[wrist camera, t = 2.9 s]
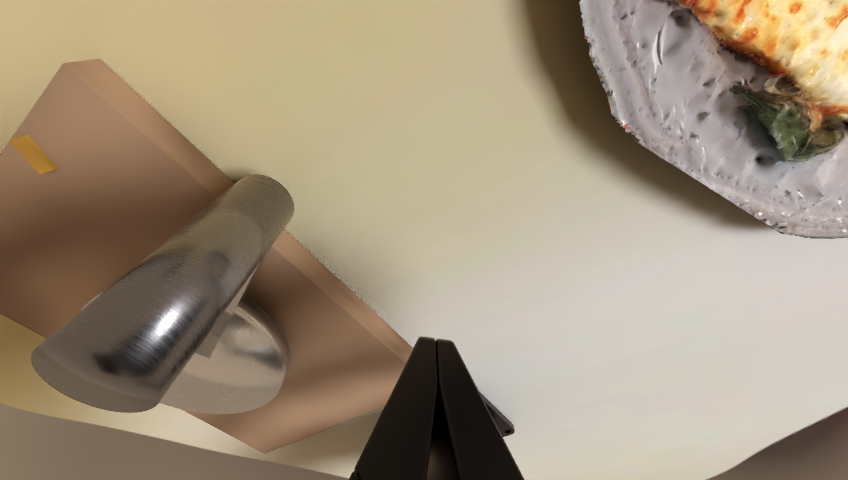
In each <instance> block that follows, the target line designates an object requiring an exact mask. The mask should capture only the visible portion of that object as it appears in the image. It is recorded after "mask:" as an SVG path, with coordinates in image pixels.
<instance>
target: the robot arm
mask: <svg viewBox="0 0 848 480" xmlns="http://www.w3.org/2000/svg"><path fill="white" fill-rule="evenodd" d="M514 431H515V430H514V425H513V424H512V423H511V422H510V421H509V420H508V419H507V418H506V417H505V416H504V415H503V414H502V413H501V412H500V411H499V410H498V409H497V408H496V407H495V406H494V405H492V404H491V403H490V402H489V401H488V400H487V399H486V398H485V397H484V396H483V395H482V394H481V393H480V392H479V391H478V389H477V387H476V385H475V383H474V381H473V379H472V377H471V375H470V373H469V371H468V370H467V368H466V366H465V364H464V362H463V360H462V358H461V356H460V354H459V352H458V350H457V348H456V346H455V344H454V343H453V342H452V341H450V340H444V339H437V340H436V341H435V339H434V338H429V337H419V338H418V340H417V342H416V344H415V346H414V348H413V350H412V352H411V354H410V356H409V358H408V360H407V362H406V365H405V367H404V369H403V371H402V373H401V375H400V377H399V379H398V381H397V383H396V385H395V387H394V389H393V391H392V393H391V395H390V397H389V399H388V401H387V403H386V405H385V407H384V409H383V411H382V414H381V416H380V418H379V420H378V422H377V424H376V426H375V428H374V430H373V432H372V434H371V436H370V438H369V440H368V442H367V444H366V446H365V448H364V450H363V452H362V454H361V456H360V458H359V460H358V462H357V465H356V467H355V471H354V472H353V473H352V474H351V476H350V478H349V480H524V478H523V476H522V474H521V472H520V470H519V468H518V466H517V464H516V462H515V460H514V459H513V457H512V455H511V453H510V451H509V449H508V447H507V445H506V443H505V441H504V439H503V437H504V436H508V435H511V434H513V433H514Z"/></svg>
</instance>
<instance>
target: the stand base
mask: <svg viewBox="0 0 848 480" xmlns="http://www.w3.org/2000/svg"><path fill="white" fill-rule="evenodd" d="M234 184H235V183H234V182H233V181H232V180H230V179H229V178H228V177H227V176H226V175H225V174H224V173H223V172H222V171H221V170H220V169H219V168H217V167H216V166H215V165H214V164H213V163H212V162H211V161H210V160H209V159H208V158H207V157H206V156H204V155H203V154H202V153H201V152H200V151H199V150H198V149H197V148H196V147H195V146H194V145H193V144H191V143H190V142H189V141H188V140H187V139H186V138H185V137H184V136H183V135H182V134H181V133H180V132H178V131H177V130H176V129H175V128H174V127H173V126H172V125H171V124H170V123H169V122H168V121H167V120H165V119H164V118H163V117H162V116H161V115H160V114H159V113H158V112H157V111H156V110H155V109H154V108H152V107H151V106H150V105H149V104H148V103H147V102H146V101H145V100H144V99H143V98H142V97H141V96H139V95H138V94H137V93H136V92H135V91H134V90H133V89H132V88H131V87H130V86H129V85H128V84H126V83H125V82H124V81H123V80H122V79H121V78H120V77H119V76H118V75H117V74H116V73H115V72H113V71H112V70H111V69H110V68H109V67H108V66H107V65H106V64H105V63H104V62H103V61H102V60H100V59H96V60H87V61H79V62H71V63H63V65H62V66H61V67H60V69H59V70H58V72H57V73H56V75H55V76H54V78H53V79H52V80H51V82H50V83H49V85H48V86H47V88H46V89H45V91H44V92H43V94H42V95H41V96H40V98H39V99H38V101H37V102H36V104H35V105H34V107H33V108H32V110H31V111H30V112H29V114H28V115H27V117H26V118H25V120H24V121H23V123H22V124H21V125H20V127H19V128H18V130H17V131H16V133H15V134H14V136H13V137H12V139H11V140H10V141H9V143H8V144H7V146H6V147H5V149H4V150H3V152H2V153H1V155H0V314H2V315H4V316H6V317H8V318H10V319H11V320H13V321H15V322H17V323H19V324H21V325H23V326H25V327H27V328H29V329H30V330H32V331H34V332H36V333H38V334H40V335H42V336H44V337H46V338H47V339H48V338H49V337H50V336H51V335H53V334H54V333H55V332H56V331H57V330H59V329H60V328H61V327H62V326H63V325H65V324H66V323H67V322H68V321H70V320H71V319H72V318H73V317H74V316H76V315H77V314H78V313H79V312H80V311H81V310H82V308H83V307H84V306H85V305H86V304H87V303H88V302H89V301H90V300H91V299H92V298H94V297H95V296H96V295H97V294H99V293H100V292H101V291H102V290H103V289H105V288H106V287H107V286H108V285H110V284H111V283H112V282H114V281H116V280H117V279H119V278H122V277H123V276H124V275H125V274H126V273H128V272H129V271H130V270H131V269H132V268H134V267H135V266H136V265H137V264H139V263H140V262H141V261H142V260H143V259H145V258H146V257H147V256H148V255H149V254H151V253H152V252H153V251H154V250H155V249H157V248H158V247H159V246H160V245H162V244H163V243H164V242H165V241H166V240H168V239H169V238H170V237H171V236H172V235H174V234H175V233H176V232H177V231H178V230H180V229H181V228H182V227H183V226H185V225H186V224H187V223H188V222H189V221H191V220H192V219H193V218H194V217H195V216H197V215H198V214H199V213H200V212H202V211H203V210H204V209H205V208H206V207H208V206H209V205H210V204H211V203H212V202H214V201H215V200H216V199H217V198H218V197H220V196H221V195H222V194H223V193H225V192H226V191H227V190H228V189H229V188H231V187H232V186H233V185H234ZM245 298H247V299H249V300H250V301H252V302H253V303H254V304H256V305H257V306H258V307H260V308H261V309H262V310H263V311H264V312H265V313H267V314H268V315H269V316H270V317H271V318H272V319H273V321H274V322H275V323H276V324H277V325H278V326H279V328H280V329H281V331H282V332H283V334H284V336H285V338H286V340H287V342H288V345H289V348H290V354H291V360H290V366H289V369H288V372H287V374H286V376H285V379H284V381H283V383H282V386H281V388H280V390H279V392H278V393H277V395H276V396H275V397H274V398H273V399H272V400H271V401H270V402H268V403H267V404H265V405H263V406H261V407H259V408H257V409H254V410H251V411H247V412H242V413H235V414H207V413H199V412H193V411H187V410H184V411H185V412H187V413H189V414H191V415H193V416H195V417H197V418H199V419H201V420H202V421H204V422H206V423H208V424H210V425H212V426H214V427H216V428H218V429H219V430H221V431H223V432H225V433H227V434H229V435H231V436H233V437H235V438H236V439H238V440H240V441H242V442H244V443H246V444H248V445H250V446H252V447H253V448H255V449H257V450H259V451H261V452H263V453H267V452H270V451H272V450H275V449H278V448H280V447H283V446H285V445H288V444H290V443H293V442H295V441H298V440H300V439H303V438H305V437H308V436H310V435H313V434H316V433H318V432H321V431H323V430H326V429H328V428H331V427H333V426H336V425H338V424H341V423H343V422H346V421H348V420H351V419H353V418H356V417H359V416H361V415H364V414H366V413H369V412H371V411H374V410H376V409H379V408H381V407H384V406H385V405H386V403H387V401H388V399H389V397H390V395H391V393H392V391H393V389H394V387H395V385H396V383H397V381H398V379H399V377H400V375H401V373H402V371H403V369H404V367H405V365H406V362H407V360H408V358H409V356H410V354H411V352H412V350H413V348H412V347H411V346H410V345H409V344H408V343H407V342H406V341H405V340H404V339H403V338H402V337H400V336H399V335H398V334H397V333H396V332H395V331H394V330H393V329H392V328H391V327H390V326H389V325H387V324H386V323H385V322H384V321H383V320H382V319H381V318H380V317H379V316H378V315H377V314H376V313H374V312H373V311H372V310H371V309H370V308H369V307H368V306H367V305H366V304H365V303H364V302H363V301H361V300H360V299H359V298H358V297H357V296H356V295H355V294H354V293H353V292H352V291H351V290H350V289H348V288H347V287H346V286H345V285H344V284H343V283H342V282H341V281H340V280H339V279H338V278H337V277H335V276H334V275H333V274H332V273H331V272H330V271H329V270H328V269H327V268H326V267H325V266H324V265H323V264H321V263H320V262H319V261H318V260H317V259H316V258H315V257H314V256H313V255H312V254H311V253H310V252H308V251H307V250H306V249H305V248H304V247H303V246H302V245H301V244H300V243H299V242H298V241H297V240H295V239H294V238H293V237H292V236H291V235H290V234H289V233H288V232H287V231H286V230H285V229H284V230H283V231H282V232H281V234H280V235H279V237H278V238H277V239H276V241H275V242H274V244H273V245H272V246H271V248H270V249H269V251H268V253H267V255H266V257H265V259H264V261H263V263H262V265H261V266H260V268H259V270H258V272H257V274H256V276H255V278H254V280H253V282H252V284H251V286H250V287H249V289H248V291H247V293H246V295H245ZM182 410H183V409H182Z"/></svg>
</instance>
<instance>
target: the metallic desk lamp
mask: <svg viewBox="0 0 848 480" xmlns="http://www.w3.org/2000/svg"><path fill="white" fill-rule="evenodd" d="M293 214H294V203H293V200H292V197H291V196H290V194H289V192H288V191H287V190H286V189H285V187H283V186H282V185H281V184H280V183H279V182H277V181H276V180H274V179H272V178H270V177H267V176H263V175H249V176H246V177H243V178H242V179H240V180H239V181H238V182H237V183H235V184H234V185H233V186H232V187H231V188H229V189H228V190H227V191H226V192H225V193H223V194H222V195H221V196H220V197H218V198H217V199H216V200H215V201H214V202H212V203H211V204H210V205H209V206H208V207H206V208H205V209H204V210H203V211H202V212H200V213H199V214H198V215H197V216H195V217H194V218H193V219H192V220H191V221H189V222H188V223H187V224H186V225H185V226H183V227H182V228H181V229H180V230H178V231H177V232H176V233H175V234H174V235H172V236H171V237H170V238H169V239H168V240H166V241H165V242H164V243H163V244H162V245H160V246H159V247H158V248H157V249H155V250H154V251H153V252H152V253H151V254H149V255H148V256H147V257H146V258H145V259H143V260H142V261H141V262H140V263H139V264H137V265H136V266H135V267H134V268H132V269H131V270H130V271H129V272H128V273H126V274H125V275H124V276H123V277H122V278H119V279H117V280H116V281H114V282H112V283H111V284H110V285H108V286H107V287H106V288H105V289H103V290H102V291H101V292H100V293H99V294H97V295H96V296H95V297H94V298H92V299H91V300H90V301H89V302H88V303H87V304H86V305H85V306H84V307H83V308H82V310H81V311H80V312H79V313H78V314H77V315H76V316H74V317H73V318H72V319H71V320H70V321H68V322H67V323H66V324H65V325H63V326H62V327H61V328H60V329H59V330H57V331H56V332H55V333H54V334H53V335H51V336H50V337H49V338H48V339H47V340H45V341H44V342H43V343H42V344H40V345H39V346H38V347H37V348H36V349H35V350H34V351H33V353H32V356H31V361H32V365H33V367H34V369H35V371H36V372H37V373H38V374H39V376H40V377H41V378H42V379H43V380H44V381H45V382H47V383H48V384H49V385H50V386H52V387H53V388H55V389H56V390H58V391H59V392H61V393H63V394H64V395H66V396H68V397H70V398H72V399H75V400H77V401H79V402H82V403H84V404H87V405H90V406H93V407H97V408H100V409H104V410H109V411H115V412H127V413H132V412H142V411H146V410H149V409H152V408H153V407H155V406H156V405H157V404H158V403H162V404H165V405H168V406H172V407H175V408H179V409H183V410H187V411H193V412H199V413H207V414H235V413H242V412H247V411H251V410H254V409H257V408H259V407H261V406H263V405H265V404H267V403H268V402H270V401H271V400H272V399H273V398H274V397H275V396H276V395H277V393H278V392H279V390H280V388H281V386H282V383H283V381H284V379H285V376H286V374H287V372H288V369H289V366H290V360H291V354H290V348H289V345H288V342H287V340H286V338H285V336H284V334H283V332H282V331H281V329H280V328H279V326H278V325H277V324H276V323H275V322H274V321H273V319H272V318H271V317H270V316H269V315H268V314H267V313H265V312H264V311H263V310H262V309H261V308H260V307H258V306H257V305H256V304H254V303H253V302H252V301H250V300H249V299H247V298H245V295H246V293H247V291H248V289H249V287H250V286H251V284H252V282H253V280H254V278H255V276H256V274H257V272H258V270H259V268H260V266H261V265H262V263H263V261H264V259H265V257H266V255H267V253H268V251H269V249H270V248H271V246H272V245H273V244H274V242H275V241H276V239H277V238H278V237H279V235H280V234H281V232H282V231H283V230H284V228H285V227H286V225H287V224H288V223H289V221H290V220H291V218H292V216H293Z"/></svg>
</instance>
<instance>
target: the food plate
mask: <svg viewBox="0 0 848 480" xmlns="http://www.w3.org/2000/svg"><path fill="white" fill-rule="evenodd" d="M579 4H580V9H581V11H580V12H583V13H582V15H581V17H582V18H583V23H582V26H583V27H584V31H585V35H584V38H585V39H587V40H588V41H587V42H588V43H590V44H589V45H588V46H589V48H590V51H589V56H590V57H591V58H592V60H591V61H594V60H595V63H594V62H593V66H594V67H595V68H596V69H595V70H597V73H598V75H599V78H600V81H601V84H602V85H603V88H604V89H605V92H606V95H607V97H608V101H609V104H610V109H611V114H612V116H613V119H615V120H618V121H617V122H616V123H618V125H619V126H621V127H623V128H625V131H626V132H629V133H631V132H633V133H631V134H633V135H635V137H636V138H637V139H640V142H639V141H636V140H635V139H634V140H635V141H636V142H637V143H638V144H640V145H641V146H643V147H644V148H646V149H648V150H649V151H651V152H652V153H653V154H655V155H657V156H658V157H660V158H662V159H664V158H665V159H664V160H665V161H667V160H668V161H667V162H668V163H670V164H671V165H673V164H674V165H673V166H674V167H676V166H677V167H676V168H678V169H680V170H681V171H683V172H685V173H686V174H688V175H689V176H690V177H691V178H693V179H695V180H696V181H698V182H700V183H702V184H703V185H705V186H706V187H707V188H709V189H710V190H712V191H713V192H715V193H718V194H720V195H721V196H722V197H724V198H726V199H727V200H729V201H730V202H732V203H734V204H735V205H736V206H738V207H740V208H741V209H743V210H744V209H745V210H744V211H746V212H747V211H748V212H747V213H749V214H751V215H752V216H754V217H755V218H757V219H758V220H760V219H761V220H762V219H764V220H765V222H763V221H762V222H763V223H765V224H766V225H768V226H770V227H771V225H772V226H774V227H780V226H781V228H778V229H779V230H776V231H778V232H779V233H781V234H784V233H785V234H790V235H795V236H797V235H799V236H801V237H805V238H808V237H810V238H827V239H834V238H847V237H848V0H580V2H579ZM615 126H616V125H615ZM616 128H617V126H616ZM618 129H619V128H618ZM619 130H621V129H619ZM621 131H622V130H621ZM624 133H625V132H624ZM627 135H628V134H627ZM628 136H629V135H628ZM631 138H632V137H631ZM632 139H633V138H632ZM643 141H644V142H643ZM642 142H643V143H642ZM641 143H642V144H643V145H642V144H641ZM644 145H645V146H644ZM646 146H647V147H648V148H647V147H646ZM650 149H651V150H650ZM653 151H654V152H653ZM658 154H659V155H660V156H659V155H658ZM759 217H760V219H759ZM761 220H760V221H761ZM773 224H774V225H773ZM771 228H773V227H771ZM773 229H774V228H773Z"/></svg>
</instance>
